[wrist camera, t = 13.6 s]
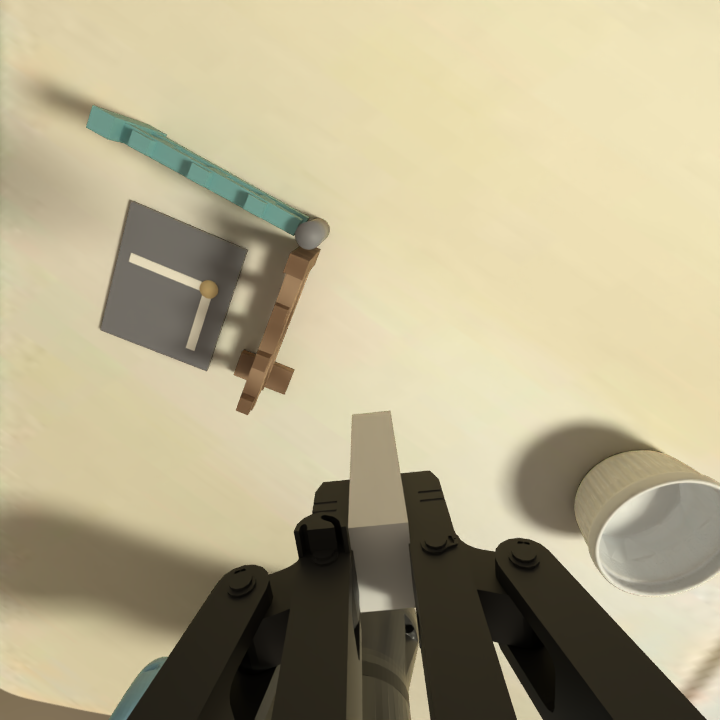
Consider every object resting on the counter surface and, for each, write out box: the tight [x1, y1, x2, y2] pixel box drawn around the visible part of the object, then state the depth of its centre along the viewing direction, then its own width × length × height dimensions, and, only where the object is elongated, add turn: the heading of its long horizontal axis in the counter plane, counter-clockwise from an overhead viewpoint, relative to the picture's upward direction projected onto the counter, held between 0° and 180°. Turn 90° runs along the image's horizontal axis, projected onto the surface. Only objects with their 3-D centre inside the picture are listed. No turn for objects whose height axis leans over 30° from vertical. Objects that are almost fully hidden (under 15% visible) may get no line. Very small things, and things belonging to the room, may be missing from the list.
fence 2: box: [234, 246, 321, 415], centre depth 36 cm, size 14×5×8 cm, turn 157°
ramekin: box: [574, 450, 720, 597], centre depth 43 cm, size 13×13×7 cm
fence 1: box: [86, 105, 330, 250], centre depth 32 cm, size 16×2×8 cm, turn 62°
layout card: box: [101, 201, 248, 371], centre depth 39 cm, size 12×10×1 cm
